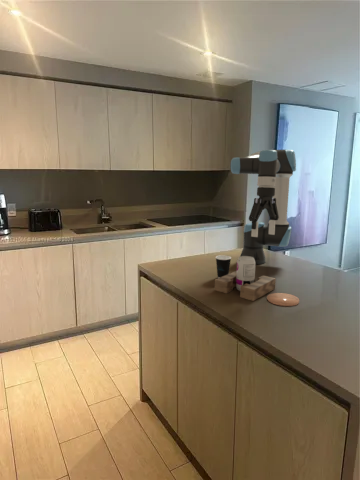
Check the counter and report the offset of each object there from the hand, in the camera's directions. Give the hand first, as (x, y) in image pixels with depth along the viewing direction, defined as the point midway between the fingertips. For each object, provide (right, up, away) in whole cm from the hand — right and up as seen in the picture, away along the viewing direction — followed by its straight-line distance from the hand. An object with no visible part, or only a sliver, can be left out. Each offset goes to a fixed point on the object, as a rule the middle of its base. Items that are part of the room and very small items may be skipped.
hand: (263, 235), depth 153 cm
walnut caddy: (-7, -25, +6) cm, 26 cm away
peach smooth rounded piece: (+7, -27, -7) cm, 29 cm away
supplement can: (-7, -25, +6) cm, 27 cm away
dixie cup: (-15, -22, +23) cm, 35 cm away
